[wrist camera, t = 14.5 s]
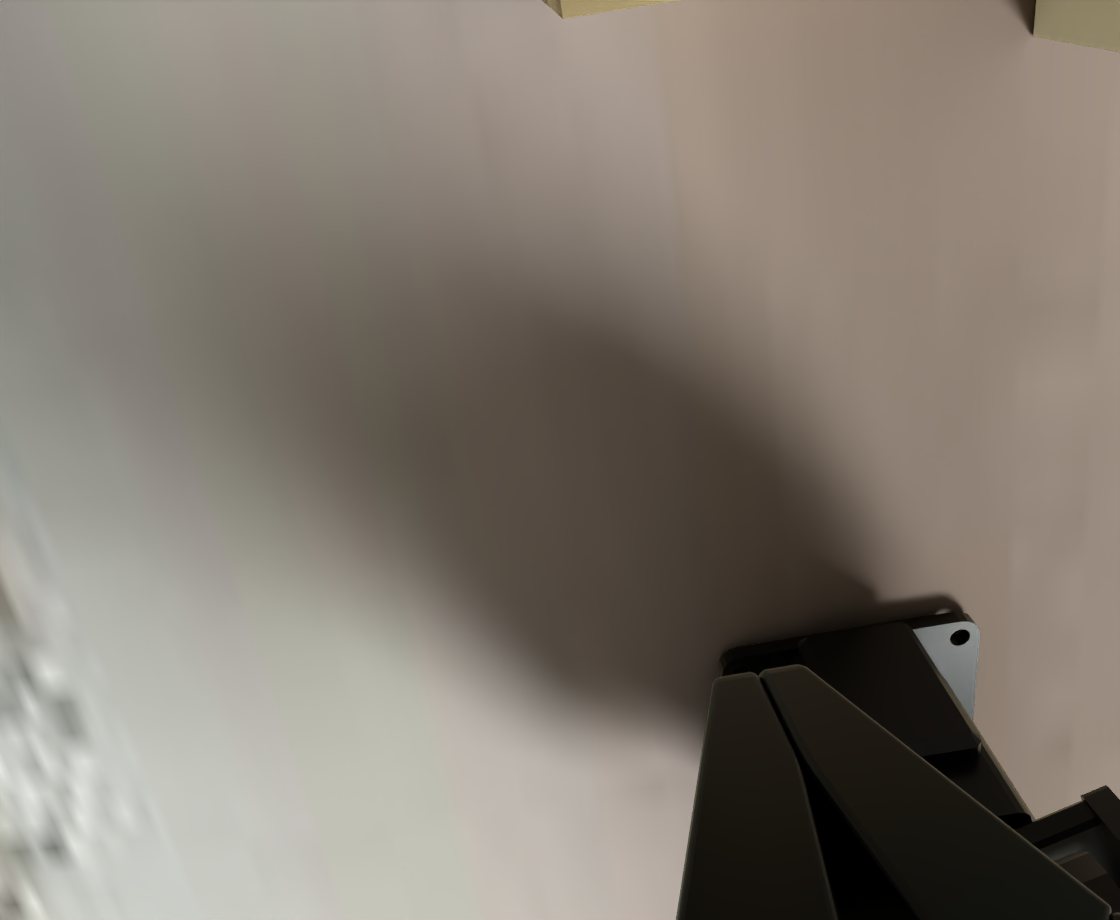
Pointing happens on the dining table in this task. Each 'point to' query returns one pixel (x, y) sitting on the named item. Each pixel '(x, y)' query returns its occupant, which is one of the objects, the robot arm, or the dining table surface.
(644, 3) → the block
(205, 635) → the dining table surface
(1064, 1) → the stop wall
